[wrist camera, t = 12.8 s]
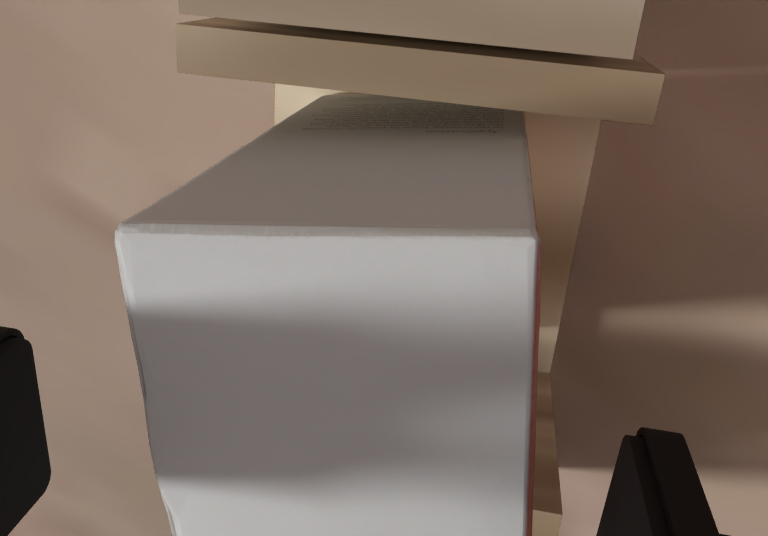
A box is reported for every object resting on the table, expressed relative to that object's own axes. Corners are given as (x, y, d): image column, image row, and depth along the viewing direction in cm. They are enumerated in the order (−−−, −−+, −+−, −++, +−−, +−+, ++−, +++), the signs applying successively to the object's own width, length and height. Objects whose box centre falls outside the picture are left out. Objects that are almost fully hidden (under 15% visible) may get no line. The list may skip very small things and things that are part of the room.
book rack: (291, -139, 21) (113, -227, 12) (642, -114, 20) (757, -190, 10) (277, 424, 29) (165, 640, 19) (526, 467, 28) (532, 719, 18)
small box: (521, 328, 24) (528, 676, 12) (338, 322, 25) (182, 637, 13) (528, 83, 21) (547, 230, 9) (319, 88, 22) (93, 226, 10)
